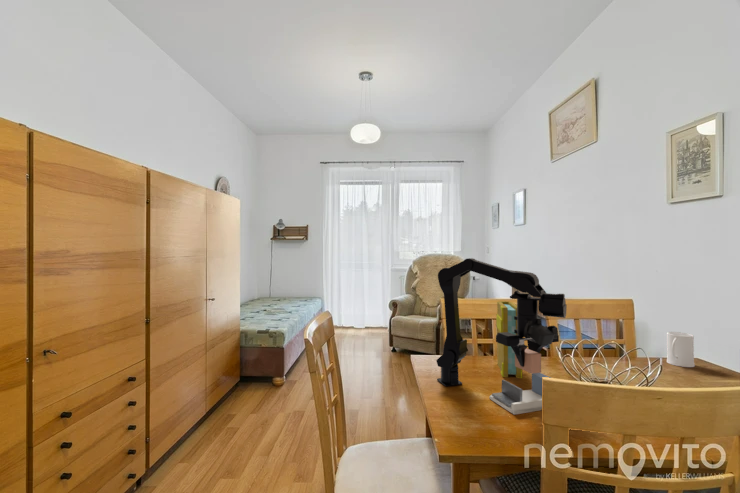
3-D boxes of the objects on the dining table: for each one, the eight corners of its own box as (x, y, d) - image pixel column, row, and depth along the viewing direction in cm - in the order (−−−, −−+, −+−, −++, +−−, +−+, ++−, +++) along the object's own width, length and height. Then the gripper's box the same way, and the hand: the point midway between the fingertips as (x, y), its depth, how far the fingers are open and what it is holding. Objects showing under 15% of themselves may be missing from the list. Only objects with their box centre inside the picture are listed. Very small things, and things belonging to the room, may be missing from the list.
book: (522, 378, 126) (521, 308, 126) (502, 376, 127) (501, 307, 127) (512, 363, 142) (512, 301, 143) (495, 362, 144) (495, 301, 144)
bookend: (491, 395, 108) (491, 381, 108) (504, 393, 109) (503, 379, 109) (509, 406, 100) (509, 391, 100) (522, 404, 101) (522, 389, 101)
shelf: (489, 398, 108) (489, 377, 108) (539, 391, 114) (539, 371, 114) (514, 414, 98) (513, 391, 98) (568, 405, 103) (567, 383, 104)
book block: (515, 366, 109) (514, 348, 110) (524, 365, 110) (524, 347, 111) (531, 373, 103) (531, 354, 103) (541, 372, 104) (541, 353, 104)
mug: (684, 370, 134) (683, 338, 134) (657, 363, 142) (657, 333, 142) (699, 365, 139) (698, 335, 140) (672, 359, 147) (672, 330, 147)
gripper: (520, 321, 96) (520, 378, 96) (573, 317, 102) (574, 371, 102) (494, 314, 107) (494, 365, 107) (544, 310, 113) (544, 359, 112)
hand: (527, 365), depth 107 cm, fingers closed on book block, 3 cm apart
